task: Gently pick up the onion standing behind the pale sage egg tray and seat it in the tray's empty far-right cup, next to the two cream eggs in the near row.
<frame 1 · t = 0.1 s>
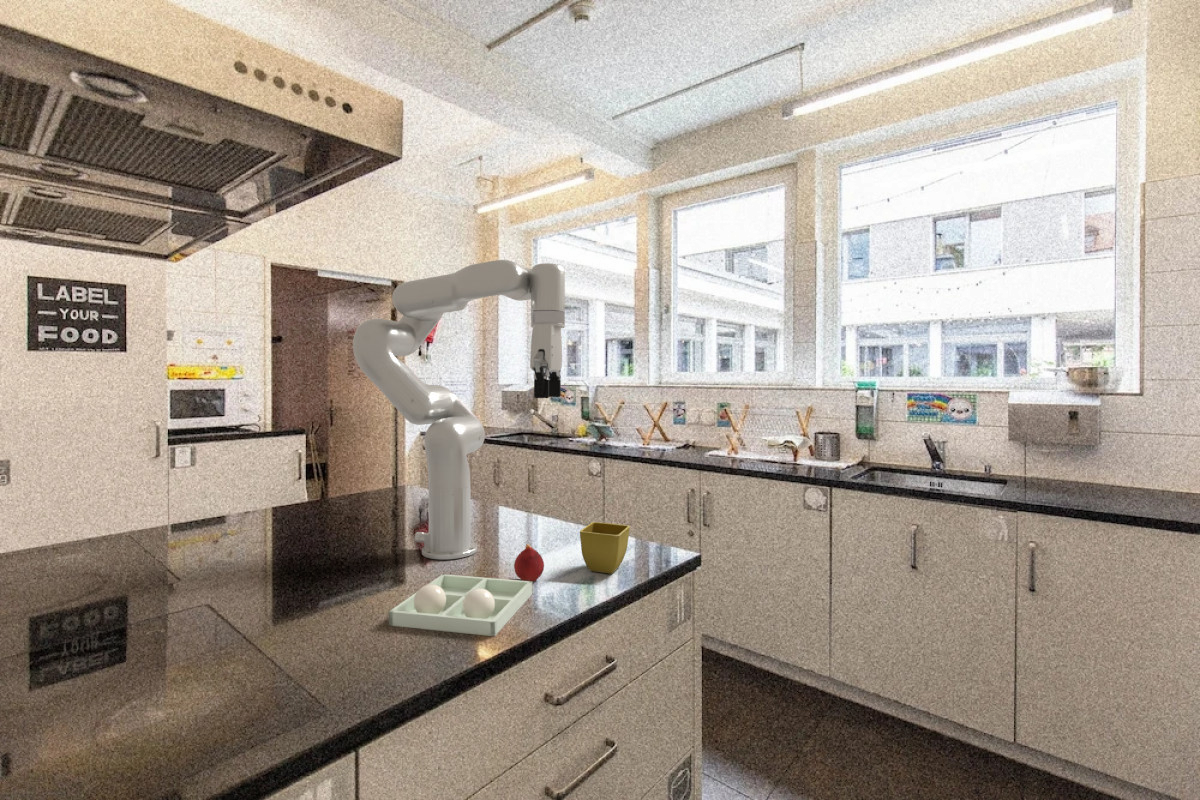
hand: (547, 397, 127), 37 cm above the worktop, tool pointing down, fingers open, 9 cm apart
egg tray: (465, 613, 98), on the worktop
egg near right: (478, 620, 93), point 1 cm above the worktop, touching egg tray
egg near left: (430, 615, 95), point 1 cm above the worktop, touching egg tray
onion: (529, 585, 113), on the worktop
flower pot: (605, 570, 122), on the worktop
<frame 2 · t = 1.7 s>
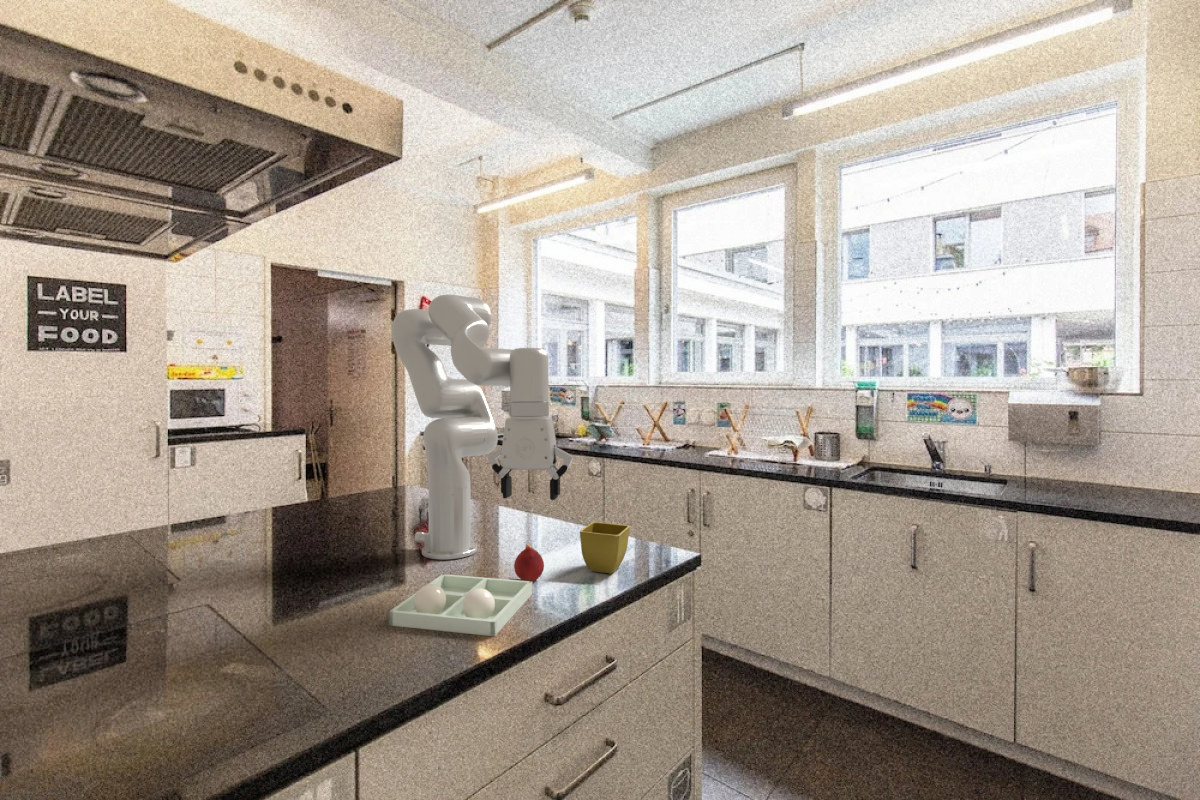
hand: (530, 497, 112), 17 cm above the worktop, tool pointing down, fingers open, 9 cm apart
nothing on the worktop moved.
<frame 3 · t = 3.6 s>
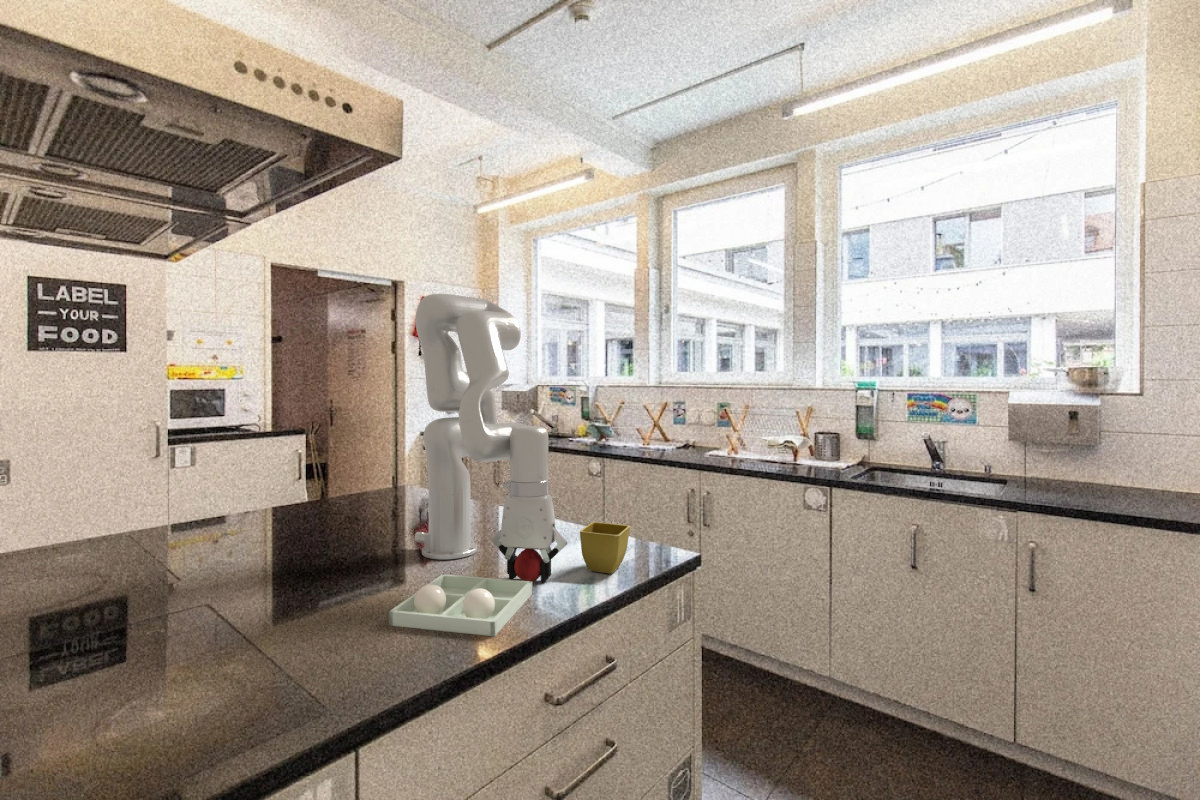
hand: (529, 578, 113), 1 cm above the worktop, tool pointing down, fingers closed on onion, 5 cm apart
onion: (529, 585, 113), on the worktop, touching gripper
everything else where it was.
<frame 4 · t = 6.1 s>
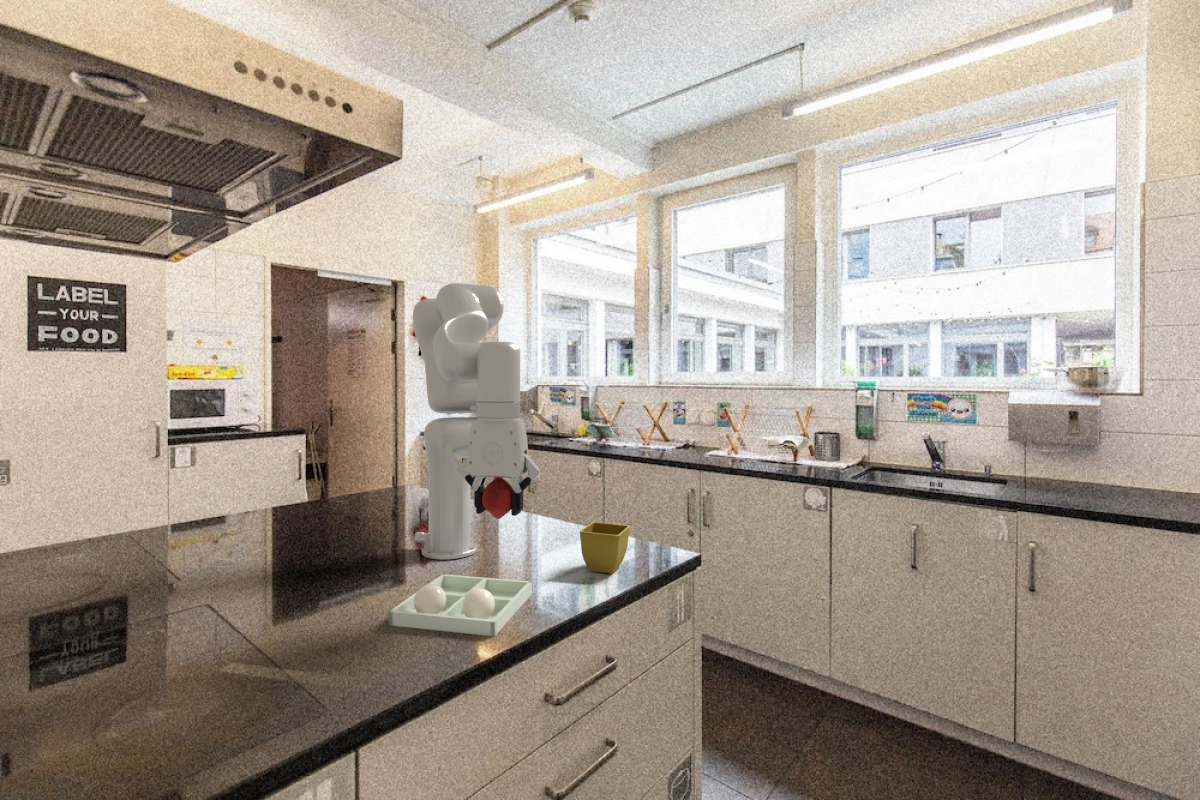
hand: (498, 512, 101), 17 cm above the worktop, tool pointing down, fingers closed on onion, 5 cm apart
onion: (498, 519, 101), point 16 cm above the worktop, touching gripper
everything else where it was.
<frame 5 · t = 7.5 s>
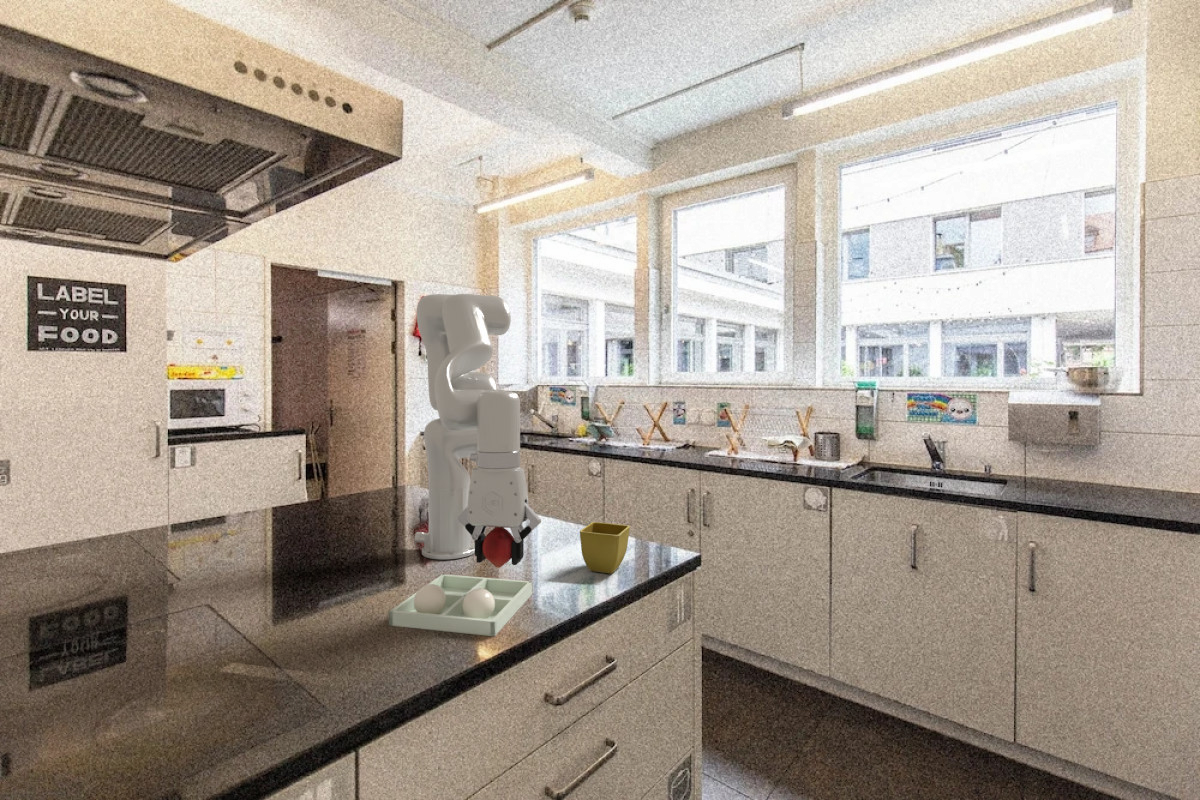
hand: (499, 560, 101), 8 cm above the worktop, tool pointing down, fingers closed on onion, 5 cm apart
onion: (499, 568, 101), point 7 cm above the worktop, touching gripper
everything else where it was.
when the fingers open (5 cm above the worktop, at t = 8.7 s): onion drops 2 cm, resting on egg tray.
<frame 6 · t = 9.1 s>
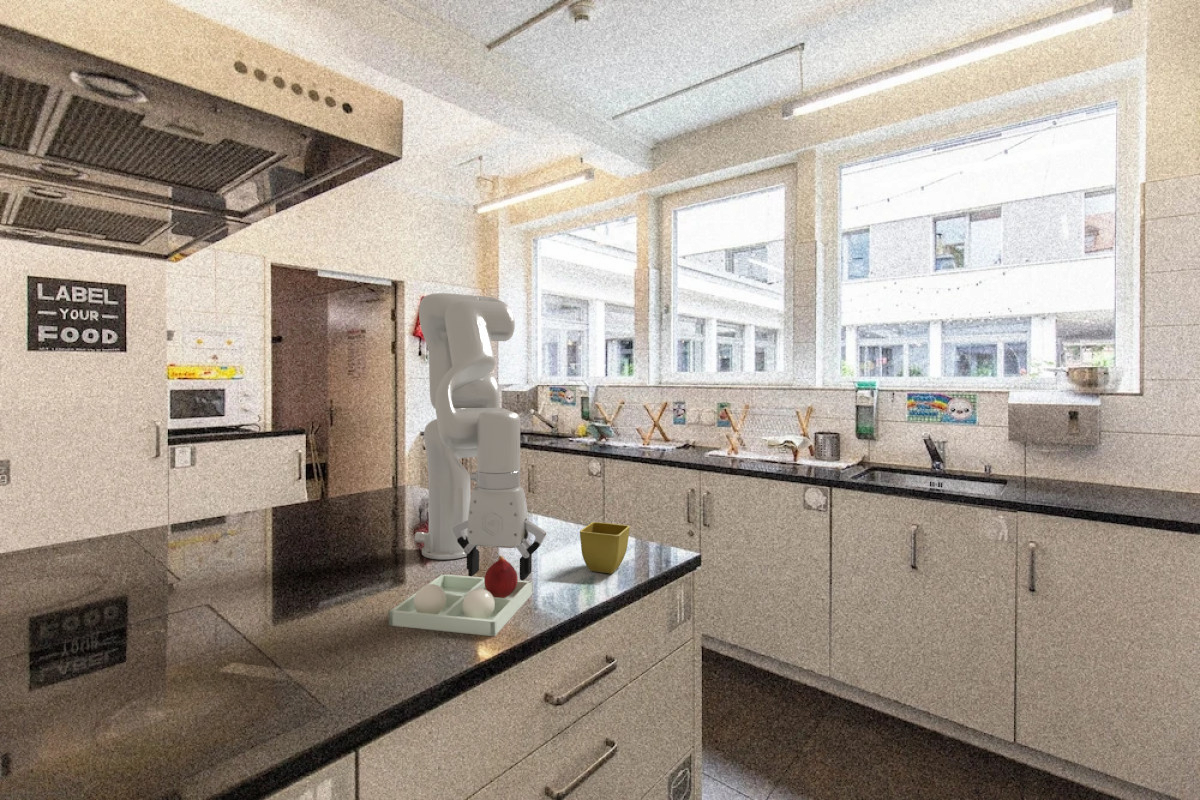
hand: (498, 575, 101), 5 cm above the worktop, tool pointing down, fingers open, 9 cm apart
onion: (499, 601, 102), point 1 cm above the worktop, touching egg tray
everything else where it was.
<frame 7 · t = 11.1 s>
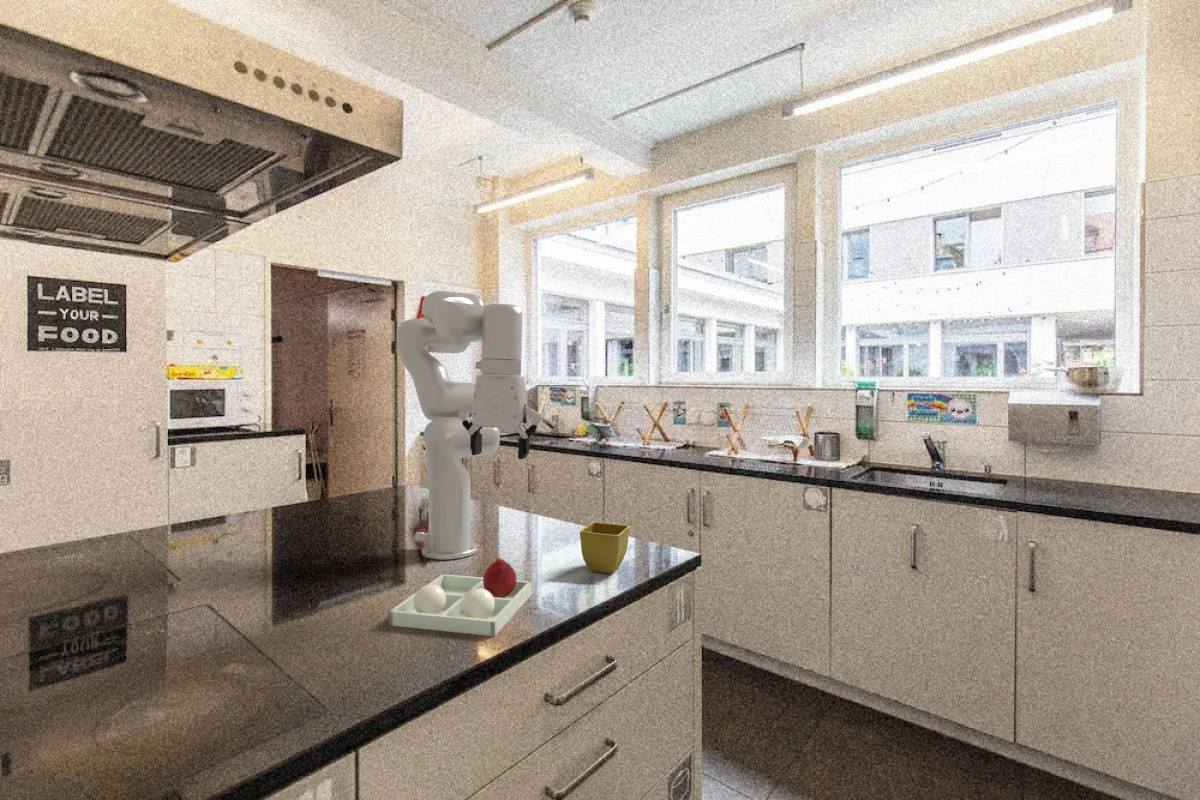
hand: (499, 456, 111), 26 cm above the worktop, tool pointing down, fingers open, 9 cm apart
nothing on the worktop moved.
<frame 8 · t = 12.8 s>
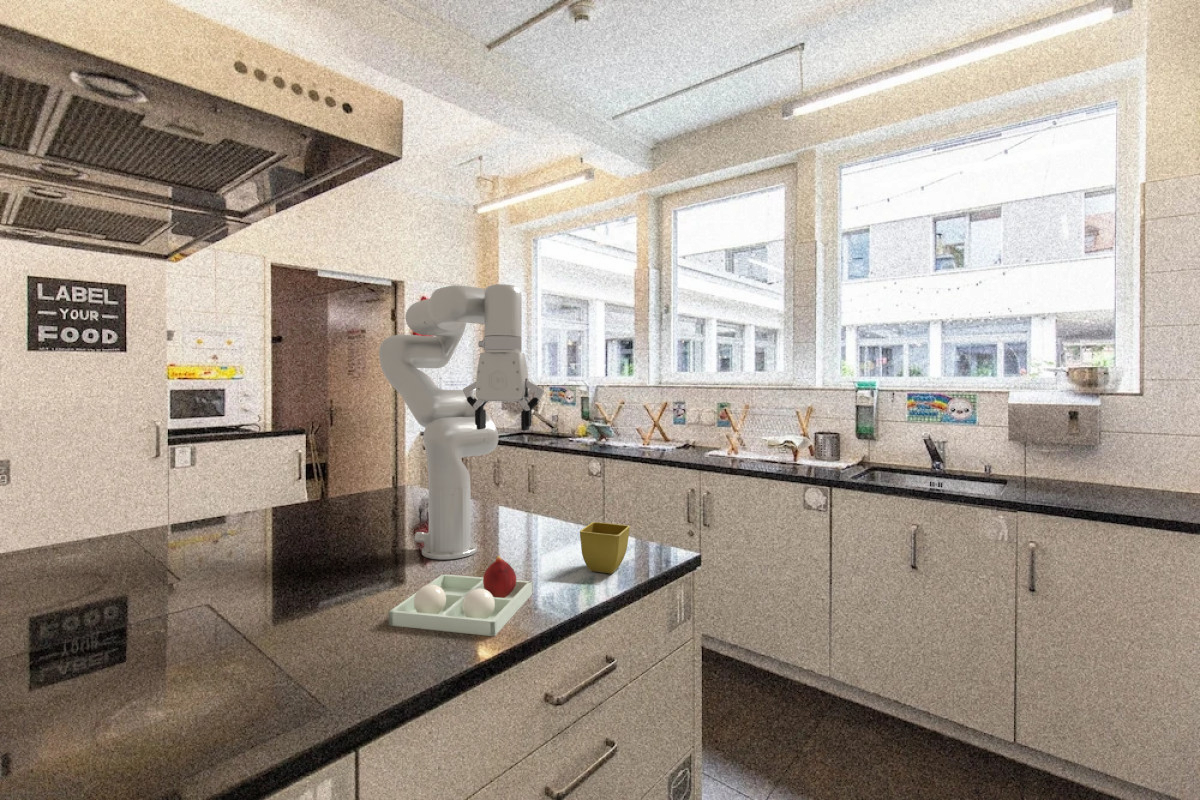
hand: (503, 429, 117), 30 cm above the worktop, tool pointing down, fingers open, 9 cm apart
nothing on the worktop moved.
at the end: onion 0.2 cm from the target spot on the egg tray, point 0.8 cm above the egg tray's base; the gripper is holding nothing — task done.
